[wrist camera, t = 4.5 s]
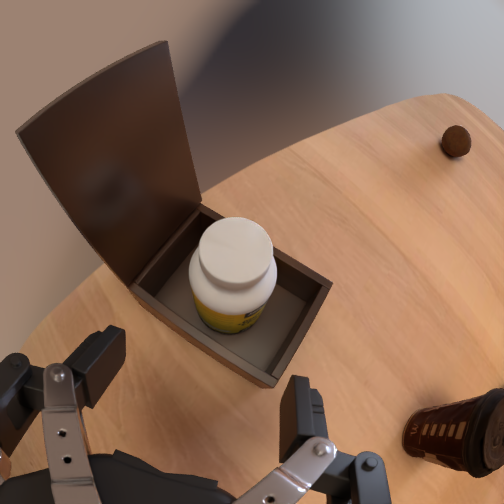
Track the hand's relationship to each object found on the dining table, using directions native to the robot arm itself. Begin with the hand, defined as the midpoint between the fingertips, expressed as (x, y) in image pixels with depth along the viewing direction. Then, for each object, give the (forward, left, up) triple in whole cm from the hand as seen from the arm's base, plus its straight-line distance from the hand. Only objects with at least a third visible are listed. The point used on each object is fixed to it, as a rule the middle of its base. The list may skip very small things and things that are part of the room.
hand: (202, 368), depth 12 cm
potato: (+19, +61, -15) cm, 66 cm away
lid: (-11, +7, -1) cm, 13 cm away
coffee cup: (+25, +5, -15) cm, 29 cm away
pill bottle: (-3, +7, -14) cm, 16 cm away
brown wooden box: (-3, +7, -15) cm, 16 cm away
